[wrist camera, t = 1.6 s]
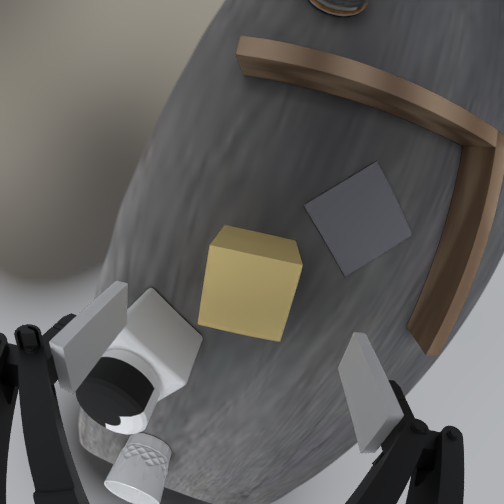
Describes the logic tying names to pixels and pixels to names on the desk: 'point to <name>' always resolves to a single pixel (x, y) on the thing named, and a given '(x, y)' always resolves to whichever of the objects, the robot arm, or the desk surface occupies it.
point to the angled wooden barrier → (432, 118)
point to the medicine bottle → (140, 366)
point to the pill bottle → (341, 6)
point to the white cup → (140, 470)
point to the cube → (249, 283)
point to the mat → (359, 218)
